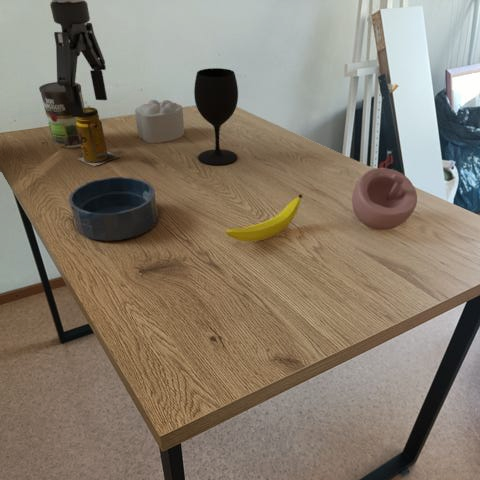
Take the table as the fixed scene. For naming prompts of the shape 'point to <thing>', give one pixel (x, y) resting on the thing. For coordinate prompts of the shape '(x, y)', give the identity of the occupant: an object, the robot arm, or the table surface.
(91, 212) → the bowl
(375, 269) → the table surface
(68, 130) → the coffee can
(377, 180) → the mortar and pestle
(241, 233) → the banana
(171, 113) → the lumpy-topped squat cylinder
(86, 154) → the condiment
